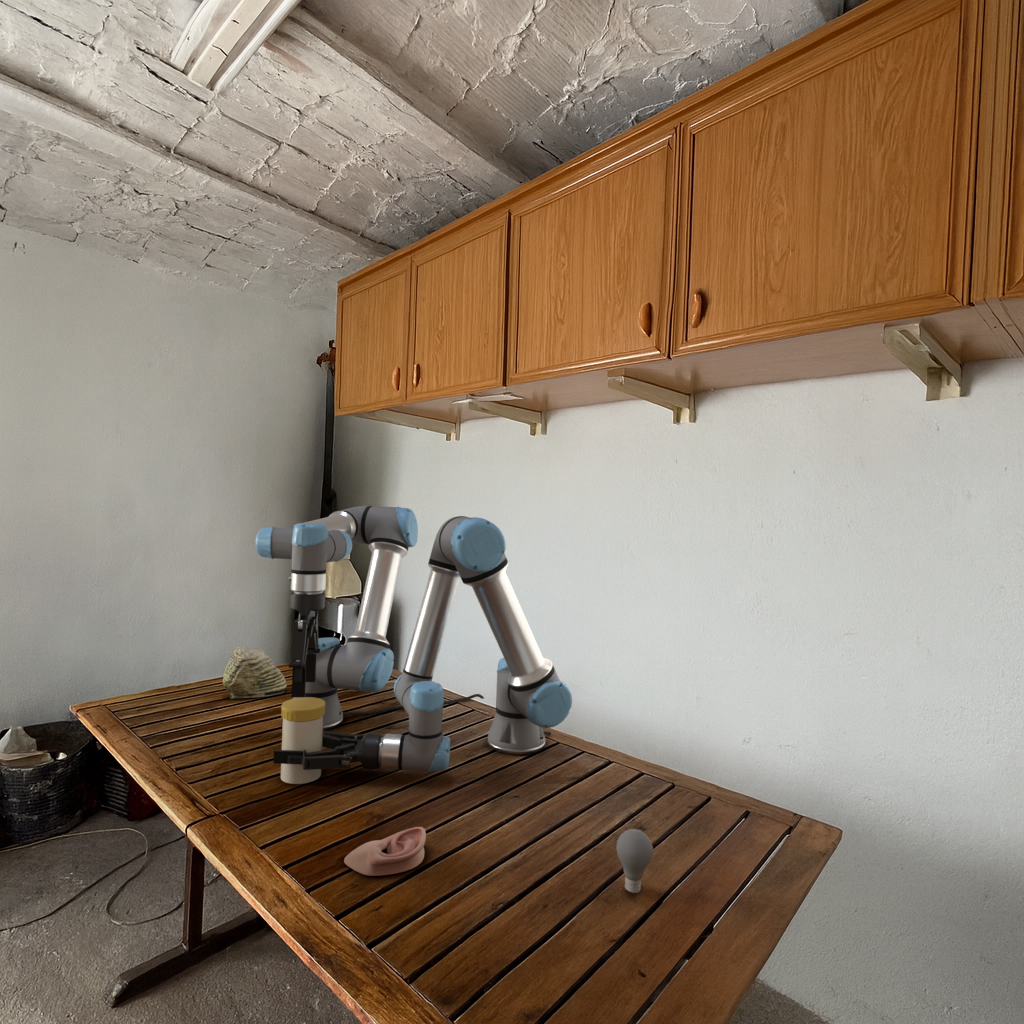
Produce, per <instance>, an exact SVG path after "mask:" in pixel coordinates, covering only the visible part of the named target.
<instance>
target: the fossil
mask: <svg viewBox="0 0 1024 1024" xmlns="http://www.w3.org/2000/svg"><path fill="white" fill-rule="evenodd" d="M222 676H223V677H222V685H223V687H224V688H225V690H226V691H228V693H229V698H230V699H250V698H264V697H271V696H275V695H281V694H284V693H285V691H286V689H287V687H288V686H287V680H286V678H285V676H284V674H283V673H282V672H281V669H279V668H278V667H277V665H276V663H275V662H274V660H273V659H272V658H271V657H270V656H269V655H268V654H267V653H266V652H265V650H264V649H263V648H260V647H258V648H251V647H247V646H246V647H245V646H238V647H237V648H236V649H235V650H233V651H232V653H231V656H230V657H229V659H228V660H227V663H226V666H225V668H224V671H223V675H222Z"/></svg>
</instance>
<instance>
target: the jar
mask: <svg viewBox="0 0 1024 1024" xmlns="http://www.w3.org/2000/svg"><path fill="white" fill-rule="evenodd" d="M323 716H324V715H323ZM323 716H322V717H320V718H318V719H315V720H310V721H289V720H286V719H284V718H282V727H281V749H280V750H294V751H303V750H306V752H307V753H309V752H317V751H323V747H322V742H323V732H324V731H323ZM321 776H322V769H313V770H304V769H303V764H280V776H279V777H280V780H281V781H282V782H284V783H286V784H290V785H304V784H308V783H312V782H315V781H316V780H318V779H319V778H320V777H321Z"/></svg>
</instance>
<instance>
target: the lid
mask: <svg viewBox="0 0 1024 1024" xmlns="http://www.w3.org/2000/svg"><path fill="white" fill-rule="evenodd" d="M324 714H325V701H324V700H322V699H319V698H314V697H301V698H294V699H293V698H290V699H287V700H285V701H283V702H282V704H281V708H280V716H281V718H282V719H283V718H284V719H286V720H289V721H310V720H315V719H318V718H320V717H322V716H323V715H324Z"/></svg>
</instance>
